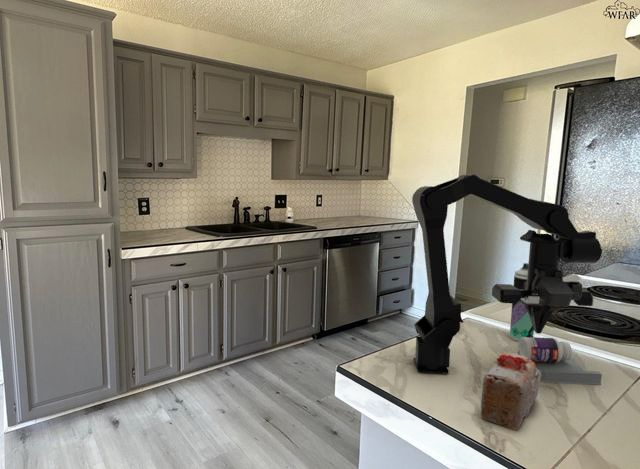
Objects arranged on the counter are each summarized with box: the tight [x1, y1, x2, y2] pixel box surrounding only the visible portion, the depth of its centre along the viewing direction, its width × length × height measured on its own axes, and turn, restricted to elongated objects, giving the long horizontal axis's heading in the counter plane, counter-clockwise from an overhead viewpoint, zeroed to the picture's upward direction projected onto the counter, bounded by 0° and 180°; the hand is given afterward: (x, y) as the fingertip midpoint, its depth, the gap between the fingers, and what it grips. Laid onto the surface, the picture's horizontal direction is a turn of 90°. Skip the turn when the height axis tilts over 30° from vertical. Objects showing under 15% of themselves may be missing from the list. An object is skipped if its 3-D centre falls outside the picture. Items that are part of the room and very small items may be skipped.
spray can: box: [509, 262, 538, 343], centre depth 103 cm, size 6×6×20 cm
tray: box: [517, 349, 603, 386], centre depth 87 cm, size 11×13×2 cm
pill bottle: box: [517, 336, 573, 363], centre depth 90 cm, size 5×5×10 cm
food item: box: [480, 352, 541, 431], centre depth 71 cm, size 14×8×10 cm, turn 144°
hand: (537, 332), depth 87 cm, fingers closed
